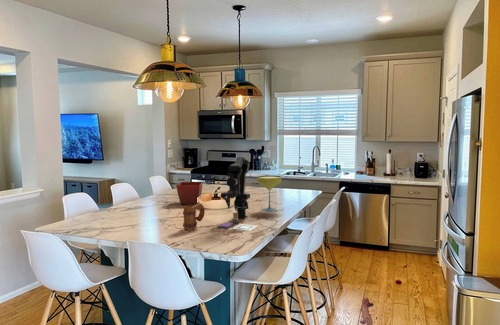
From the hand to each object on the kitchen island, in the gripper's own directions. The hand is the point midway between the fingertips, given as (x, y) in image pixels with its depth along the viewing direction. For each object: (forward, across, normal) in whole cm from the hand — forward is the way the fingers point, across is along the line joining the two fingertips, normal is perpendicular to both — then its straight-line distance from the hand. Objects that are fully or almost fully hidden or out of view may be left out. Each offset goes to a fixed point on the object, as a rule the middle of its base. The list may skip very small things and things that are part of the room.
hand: (235, 208), depth 235 cm
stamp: (+10, 0, 0) cm, 10 cm away
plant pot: (+10, -66, +48) cm, 82 cm away
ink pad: (+9, -2, -9) cm, 13 cm away
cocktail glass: (+10, +5, +47) cm, 48 cm away
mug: (+10, -18, -21) cm, 29 cm away
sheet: (+9, +10, -7) cm, 16 cm away
